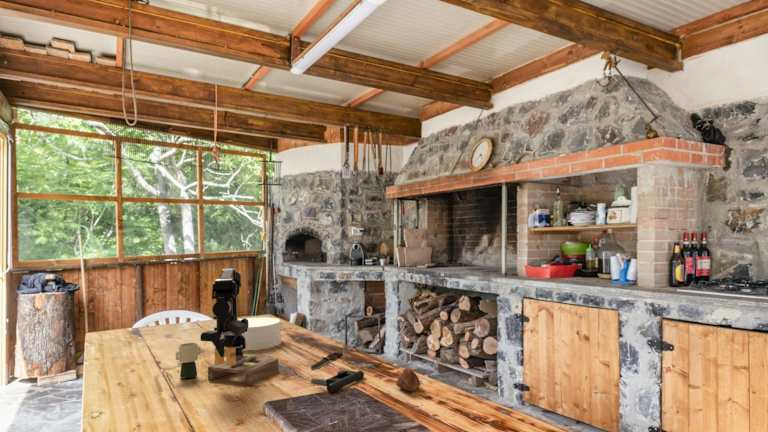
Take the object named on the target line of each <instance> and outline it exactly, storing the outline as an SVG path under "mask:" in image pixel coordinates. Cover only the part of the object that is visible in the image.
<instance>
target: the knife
mask: <svg viewBox="0 0 768 432" xmlns="http://www.w3.org/2000/svg"><path fill="white" fill-rule="evenodd" d="M342 356H344V353H343V352H340V351H339V352H338V351H337V352H333V353H330V354H327V356H325V357H324V356H322V357H321V360H320V361H318V362H316V363H314V364H312V365H311V366H310V367H311V370H317V369H320V368H321V367H323V366H325V365H326V364H328V363H330V362H333V361H335V360H337V359H339V358H341V357H342Z"/></svg>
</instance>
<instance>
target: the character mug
mask: <svg viewBox="0 0 768 432" xmlns="http://www.w3.org/2000/svg"><path fill="white" fill-rule="evenodd" d="M198 345H199V344H198V343H197V342H185V343H181V344H179V345H178V351H177V352H175V361H179V362H180V363H181V364H180V365H181V366H180V367H181V368H180V372H179V373H180V376H179V377H180V378H183V379H188V378H189V379H191V378H195V377H197V376H198V371H197V365H196V364H197V363H196V361H197V360H198V359H199V358H198V357H199V355H200V354H201V352H202V351H201V350H202V349H201V348H202V347H201V346H198Z"/></svg>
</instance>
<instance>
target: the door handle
mask: <svg viewBox="0 0 768 432" xmlns="http://www.w3.org/2000/svg"><path fill="white" fill-rule="evenodd" d="M364 377H365V373H364V371H363V370H358V371H355V370H339V371H337V374H336V375H334V376H332V377H329V378H327V379H326V378H325V379H324V378H318V377H317V378H315V377H314V378H311V379H310V382H311V383H312V384H314V385H315V384H317V385H322V386H326V390H327V392H328V393H329V392H331V393H333V392H332V391H335V392H337V391H339V390H341V389H345V388H348V387H349V386H351V385H354V384H355V383H357V381H359V380H362V379H363V378H364Z"/></svg>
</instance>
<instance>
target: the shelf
mask: <svg viewBox="0 0 768 432" xmlns="http://www.w3.org/2000/svg"><path fill="white" fill-rule="evenodd" d="M244 363H250V364H251V363H252V364H251V365H249V366H244ZM277 372H279V358H275V357H265V356H263V357H262V356H258V355H257V353H256V354H251V355H250V356H249V355H243V356H241V355H239V356H236V364H234V365H232V366H227V360H226V359H224V363H222V364H220V365H215V363H214V364H212V365H209V366H208V367H207V380H208V381H213V380H216V379H218V378H221V377H224V376H225V375H229V374H231V373H234V374H243V375H245V379H244V380H245V381H244V382H245V385H252V384H254V383H257V382H258V381H260V380H263V379H265V378H267V377H269V376H271V375H273V374H275V373H277Z"/></svg>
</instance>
